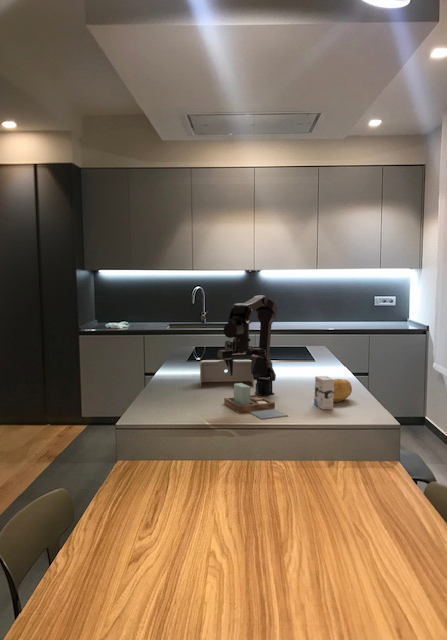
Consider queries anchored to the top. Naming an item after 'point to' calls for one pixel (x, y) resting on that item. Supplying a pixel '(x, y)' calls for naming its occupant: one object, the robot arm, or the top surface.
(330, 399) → the ink box
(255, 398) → the offcut
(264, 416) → the mat
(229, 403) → the tray
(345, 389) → the potato
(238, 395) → the tall sage green box
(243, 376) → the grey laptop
